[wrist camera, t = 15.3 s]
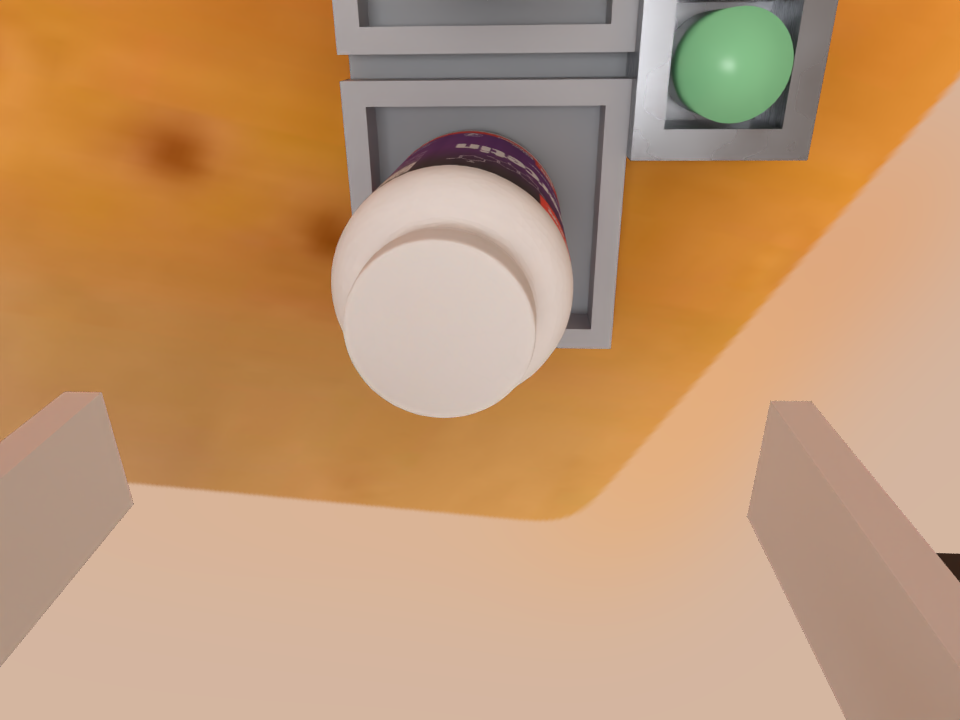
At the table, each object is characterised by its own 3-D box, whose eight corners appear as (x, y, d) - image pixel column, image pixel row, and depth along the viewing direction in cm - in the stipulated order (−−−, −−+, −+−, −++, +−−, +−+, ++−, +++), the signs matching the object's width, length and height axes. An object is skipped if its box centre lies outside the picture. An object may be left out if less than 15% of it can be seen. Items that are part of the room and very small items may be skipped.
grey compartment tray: (377, 329, 36) (365, 354, 33) (324, -318, 25) (298, -364, 22) (602, 332, 35) (609, 358, 33) (652, -331, 24) (669, -381, 21)
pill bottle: (594, 215, 32) (646, 338, 19) (475, 325, 34) (449, 500, 21) (470, 85, 29) (432, 122, 16) (354, 214, 32) (243, 333, 19)
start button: (657, 113, 29) (676, 123, 26) (667, 10, 28) (689, 6, 24) (750, 112, 29) (782, 123, 26) (766, 9, 28) (803, 4, 24)
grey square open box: (616, 144, 31) (630, 160, 27) (629, -28, 28) (647, -39, 24) (770, 144, 31) (807, 160, 27) (799, -31, 28) (846, -43, 24)
